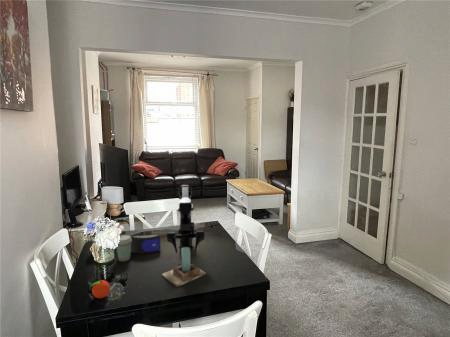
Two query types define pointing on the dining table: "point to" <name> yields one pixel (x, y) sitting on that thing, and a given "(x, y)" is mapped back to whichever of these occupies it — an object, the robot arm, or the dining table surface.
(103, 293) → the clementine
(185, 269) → the peg
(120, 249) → the coffee cup
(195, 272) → the keyhole socket
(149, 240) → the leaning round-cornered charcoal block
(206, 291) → the dining table surface
